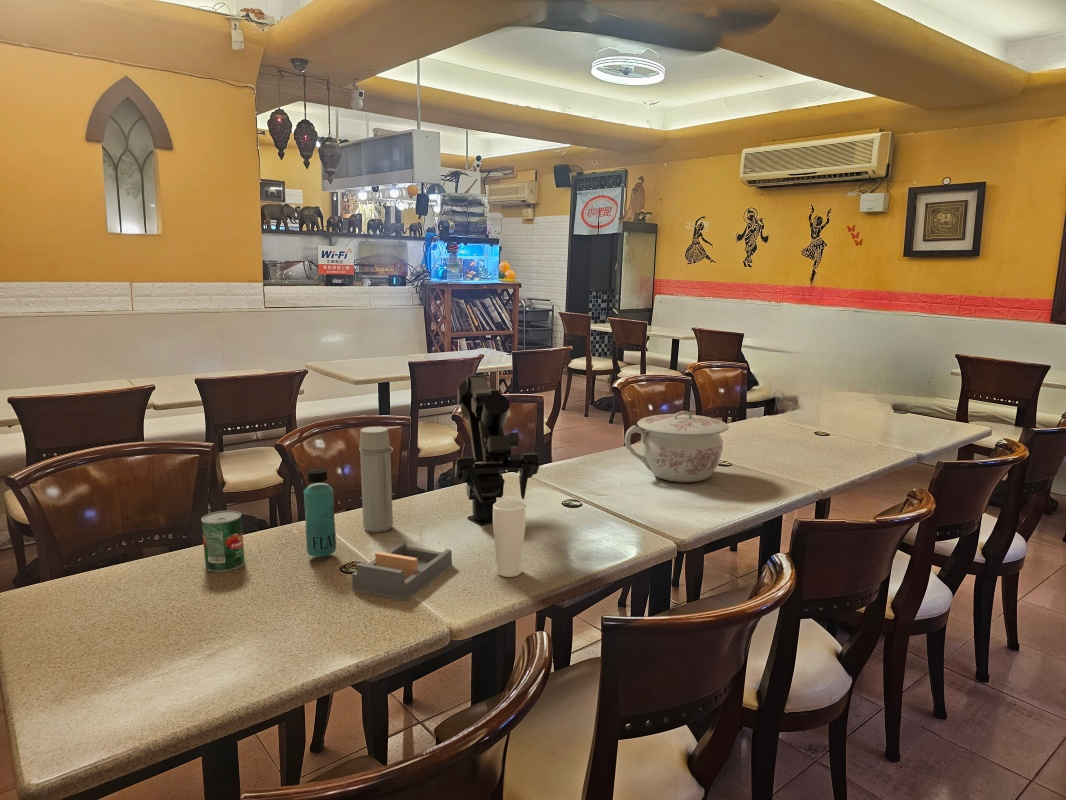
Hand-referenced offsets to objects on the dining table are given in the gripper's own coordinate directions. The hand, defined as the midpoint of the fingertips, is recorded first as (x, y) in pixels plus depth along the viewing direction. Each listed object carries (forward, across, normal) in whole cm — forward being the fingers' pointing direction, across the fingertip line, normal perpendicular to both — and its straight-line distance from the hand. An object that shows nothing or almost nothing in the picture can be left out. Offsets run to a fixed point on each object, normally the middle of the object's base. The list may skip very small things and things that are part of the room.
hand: (502, 500), depth 154 cm
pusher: (+14, -23, +4) cm, 28 cm away
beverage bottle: (+3, -39, +16) cm, 42 cm away
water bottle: (-8, -26, +27) cm, 38 cm away
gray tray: (+13, -22, +6) cm, 26 cm away
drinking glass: (+15, 0, +4) cm, 16 cm away
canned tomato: (+2, -59, +17) cm, 62 cm away
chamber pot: (-25, +65, +45) cm, 83 cm away
